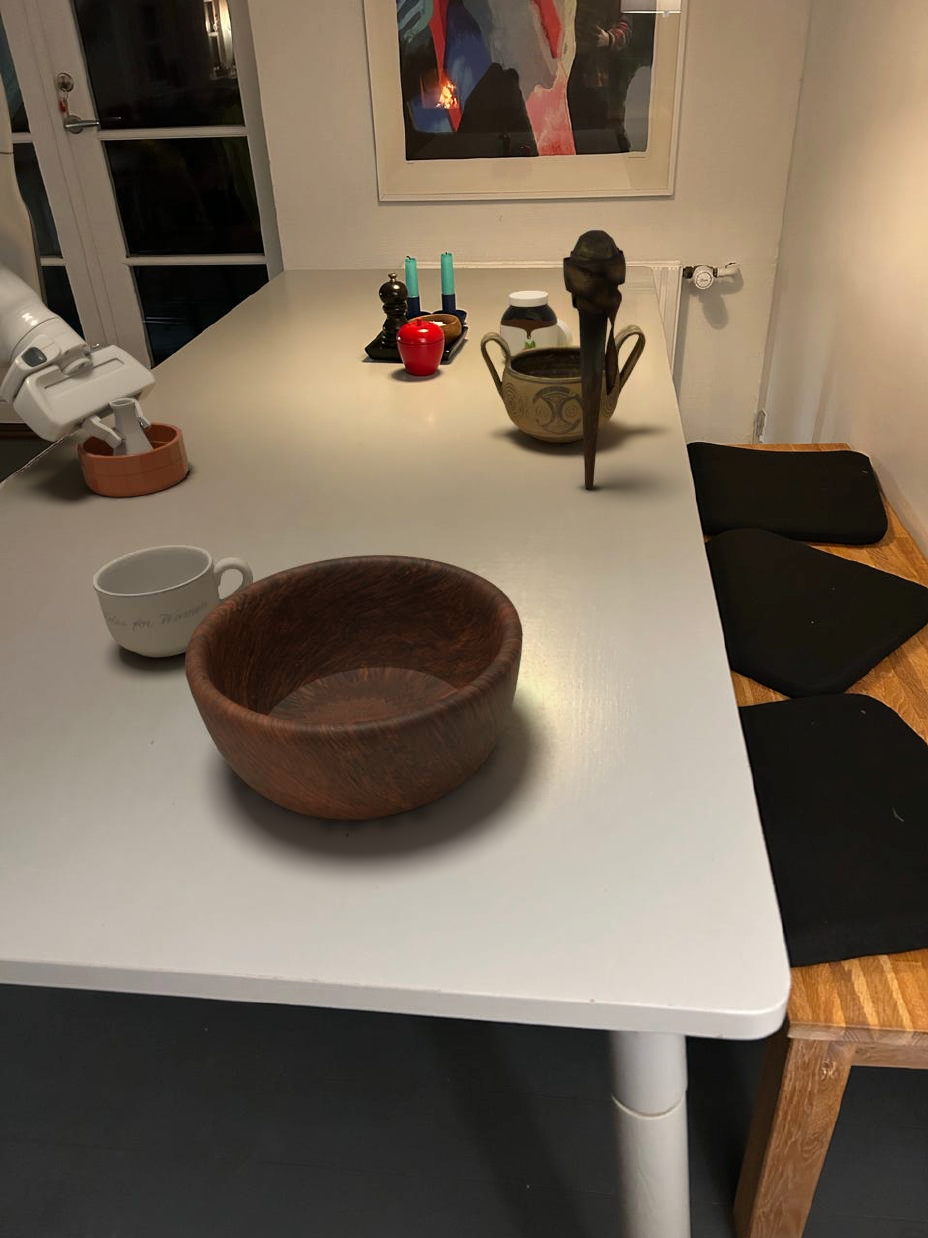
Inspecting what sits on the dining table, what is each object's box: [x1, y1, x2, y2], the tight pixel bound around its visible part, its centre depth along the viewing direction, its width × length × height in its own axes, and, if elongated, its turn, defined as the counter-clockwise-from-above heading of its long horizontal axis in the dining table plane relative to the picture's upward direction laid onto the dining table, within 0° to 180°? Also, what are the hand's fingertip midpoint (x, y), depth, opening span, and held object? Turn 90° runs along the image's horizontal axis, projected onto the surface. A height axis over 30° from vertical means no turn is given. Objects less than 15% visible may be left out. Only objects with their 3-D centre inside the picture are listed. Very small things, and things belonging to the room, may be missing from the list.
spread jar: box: [499, 290, 574, 360], centre depth 163 cm, size 12×11×12 cm
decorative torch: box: [562, 229, 627, 489], centre depth 107 cm, size 7×7×30 cm
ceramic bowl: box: [480, 324, 647, 444], centre depth 127 cm, size 22×17×15 cm
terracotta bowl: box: [76, 422, 190, 498], centre depth 123 cm, size 13×13×6 cm
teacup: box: [92, 544, 254, 658], centre depth 86 cm, size 14×11×8 cm
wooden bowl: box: [184, 554, 524, 821], centre depth 71 cm, size 25×25×10 cm
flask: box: [109, 398, 153, 456], centre depth 122 cm, size 7×7×10 cm
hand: (133, 437), depth 121 cm, fingers open, 4 cm apart
